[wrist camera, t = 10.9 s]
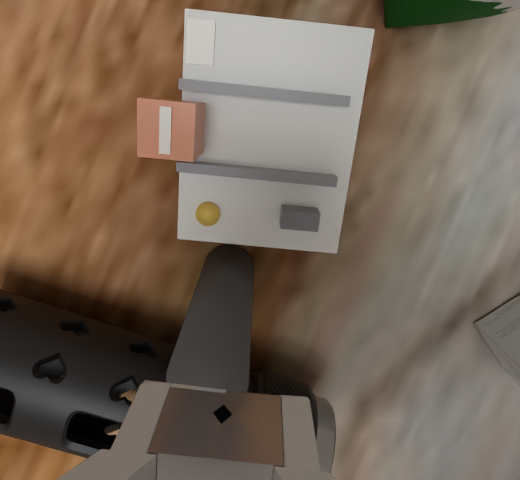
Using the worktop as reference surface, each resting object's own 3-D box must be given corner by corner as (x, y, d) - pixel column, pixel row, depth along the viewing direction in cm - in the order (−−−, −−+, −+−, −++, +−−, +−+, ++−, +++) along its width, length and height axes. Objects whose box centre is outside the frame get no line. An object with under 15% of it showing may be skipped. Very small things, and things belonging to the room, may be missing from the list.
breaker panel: (359, 38, 28) (382, 24, 22) (328, 235, 32) (341, 262, 27) (195, 20, 27) (179, 2, 22) (187, 222, 32) (172, 246, 27)
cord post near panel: (256, 246, 33) (252, 348, 19) (251, 292, 34) (245, 417, 21) (205, 242, 32) (166, 341, 19) (202, 288, 34) (165, 410, 20)
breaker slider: (205, 102, 25) (195, 103, 21) (203, 152, 26) (192, 162, 22) (155, 97, 25) (135, 97, 21) (155, 147, 26) (136, 157, 22)
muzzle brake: (7, 255, 33) (-100, 321, 23) (327, 360, 36) (352, 457, 26) (-11, 351, 36) (-113, 445, 26) (287, 440, 39) (296, 554, 29)
